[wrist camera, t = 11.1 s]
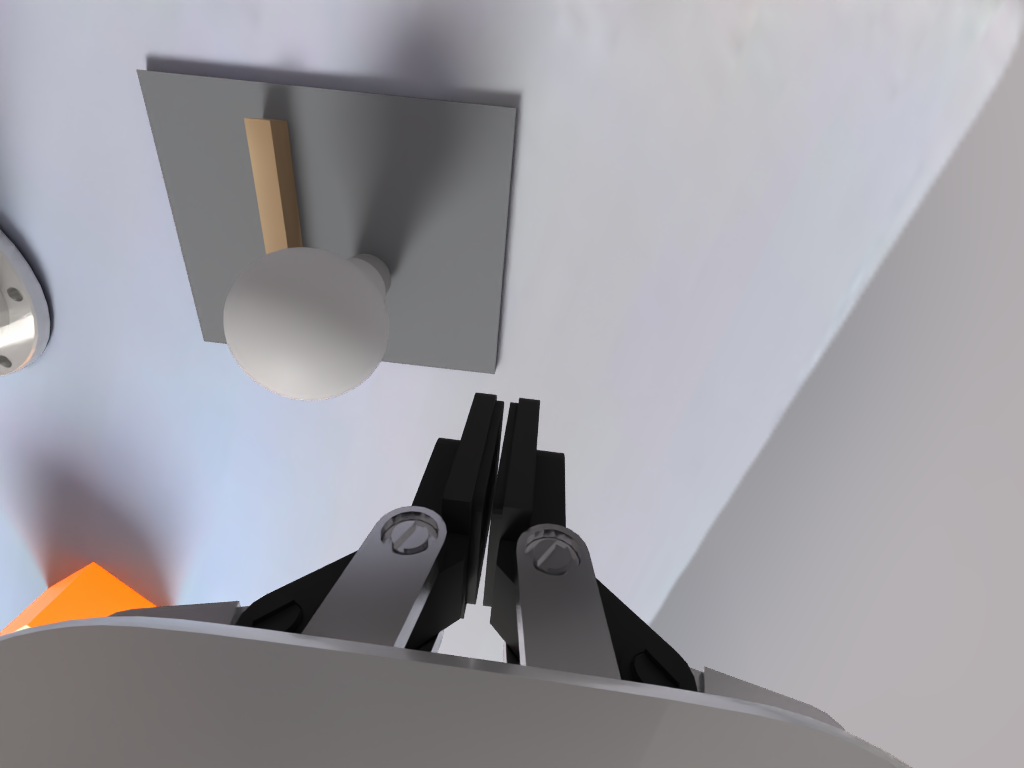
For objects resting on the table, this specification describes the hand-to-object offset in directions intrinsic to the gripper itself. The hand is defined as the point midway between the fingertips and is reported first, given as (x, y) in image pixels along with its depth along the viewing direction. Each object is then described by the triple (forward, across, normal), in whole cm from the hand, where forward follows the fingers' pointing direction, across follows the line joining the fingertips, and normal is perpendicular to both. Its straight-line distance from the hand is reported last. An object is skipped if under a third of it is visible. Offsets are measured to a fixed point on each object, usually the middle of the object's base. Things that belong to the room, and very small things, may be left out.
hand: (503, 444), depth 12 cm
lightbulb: (+15, +9, +1) cm, 18 cm away
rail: (+16, +13, 0) cm, 21 cm away
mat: (+16, +11, -1) cm, 19 cm away
